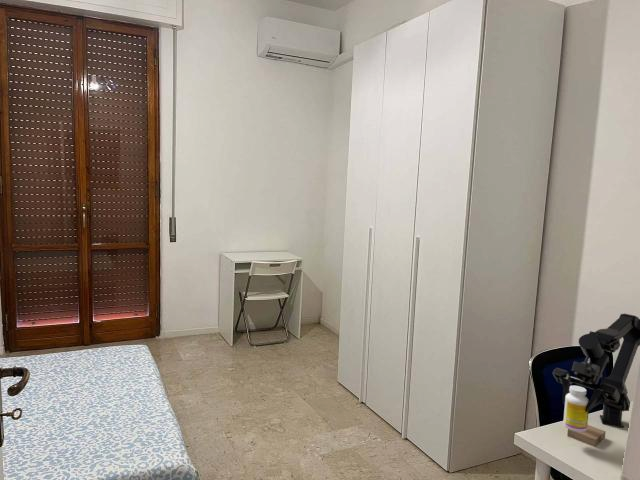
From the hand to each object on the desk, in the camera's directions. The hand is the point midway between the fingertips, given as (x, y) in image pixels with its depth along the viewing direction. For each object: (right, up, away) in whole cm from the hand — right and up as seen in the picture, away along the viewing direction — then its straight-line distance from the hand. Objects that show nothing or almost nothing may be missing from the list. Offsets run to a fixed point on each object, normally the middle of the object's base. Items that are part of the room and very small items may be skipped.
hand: (574, 407), depth 145 cm
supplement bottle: (+1, -7, +2) cm, 7 cm away
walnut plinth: (+8, -13, +7) cm, 17 cm away
